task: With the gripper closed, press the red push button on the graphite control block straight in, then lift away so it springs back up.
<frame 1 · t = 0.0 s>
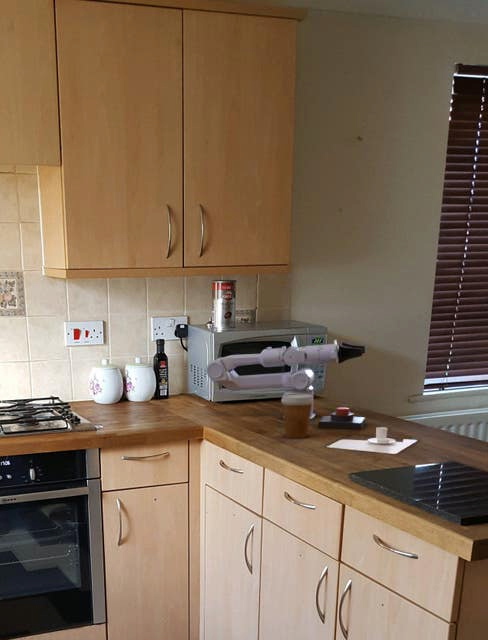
hand: (363, 350, 276), 22 cm above the countertop, tool horizontal, fingers open, 7 cm apart
control block: (341, 426, 274), on the countertop
disposable coffee cup: (296, 436, 261), on the countertop
red push button: (342, 411, 272), point 5 cm above the countertop, slide at 0.1 cm
teacup and saucer: (372, 444, 249), on the countertop
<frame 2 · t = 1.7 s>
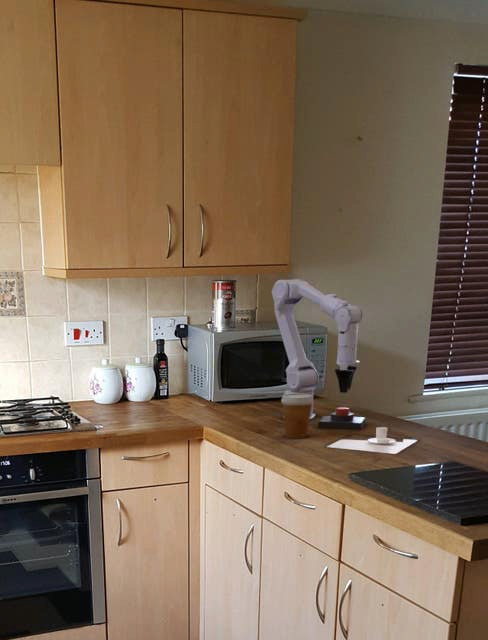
hand: (345, 390, 274), 10 cm above the countertop, tool pointing down, fingers open, 6 cm apart
nothing on the countertop moved.
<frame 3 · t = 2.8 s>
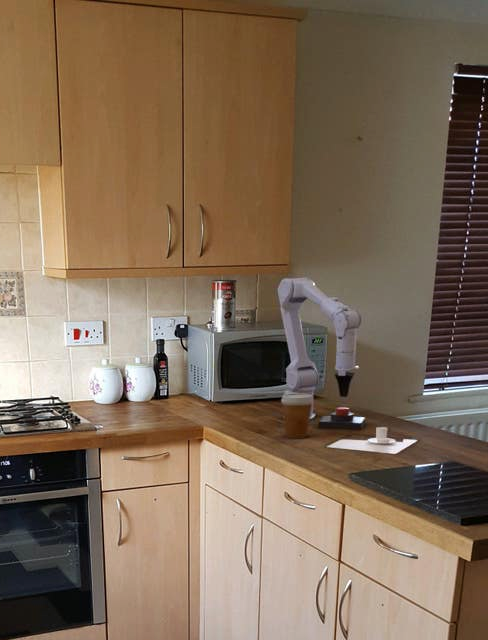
hand: (343, 396, 272), 9 cm above the countertop, tool pointing down, fingers closed
nothing on the countertop moved.
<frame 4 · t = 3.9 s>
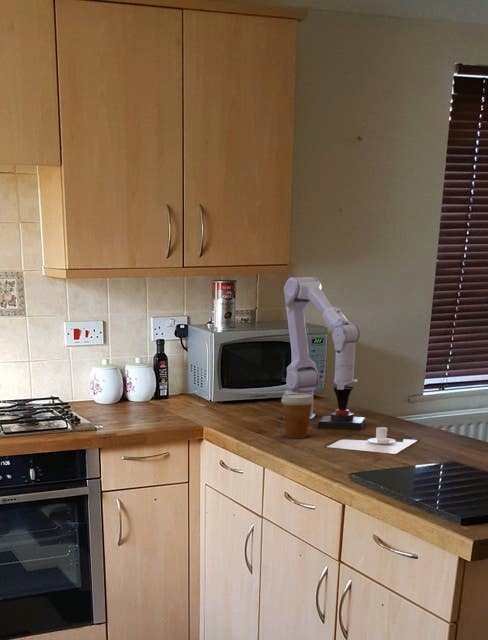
hand: (342, 409, 272), 5 cm above the countertop, tool pointing down, fingers closed, pressing on red push button
red push button: (342, 413, 272), point 4 cm above the countertop, slide at -0.4 cm, touching gripper
everything else where it was.
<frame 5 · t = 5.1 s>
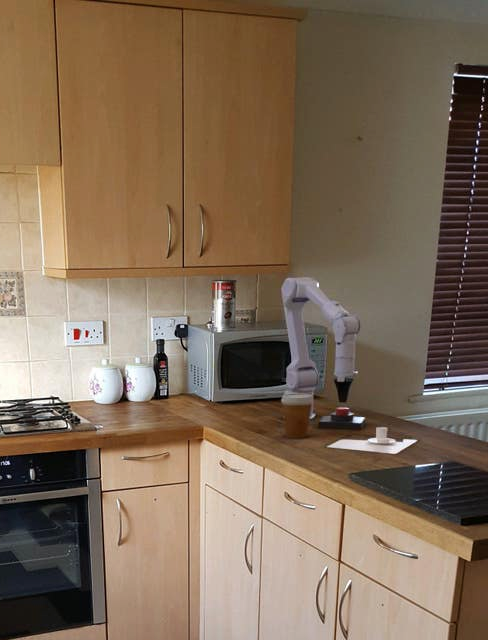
hand: (342, 402, 271), 8 cm above the countertop, tool pointing down, fingers closed
red push button: (342, 411, 272), point 5 cm above the countertop, slide at 0.1 cm
everything else where it was.
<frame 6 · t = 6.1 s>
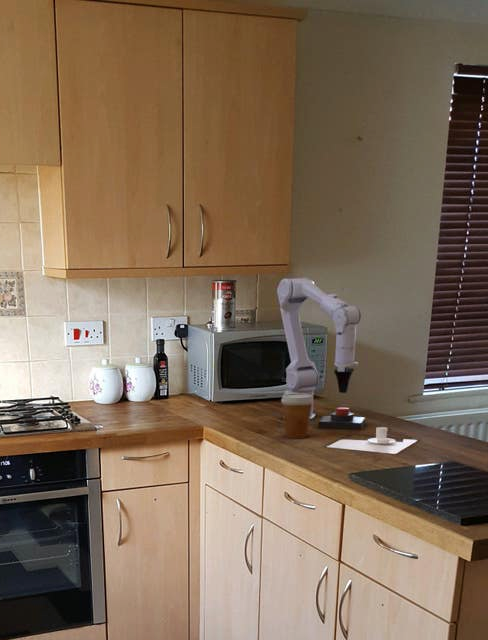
hand: (343, 392, 271), 10 cm above the countertop, tool pointing down, fingers closed
nothing on the countertop moved.
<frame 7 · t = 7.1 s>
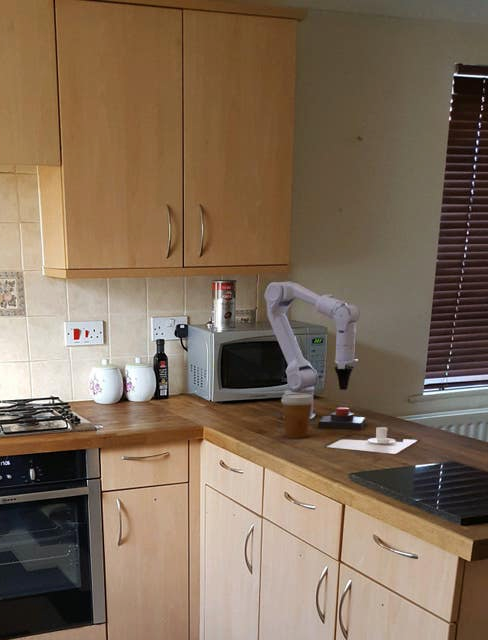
hand: (343, 389, 277), 10 cm above the countertop, tool pointing down, fingers closed
nothing on the countertop moved.
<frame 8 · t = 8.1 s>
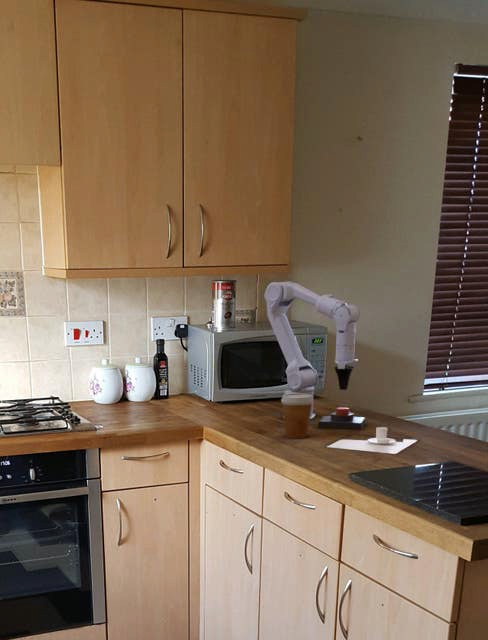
hand: (343, 389, 277), 10 cm above the countertop, tool pointing down, fingers closed
nothing on the countertop moved.
at the end: red push button pushed in 1.2 cm at the most during the clip, back to where it started at the end; red push button slide at 0.1 cm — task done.
